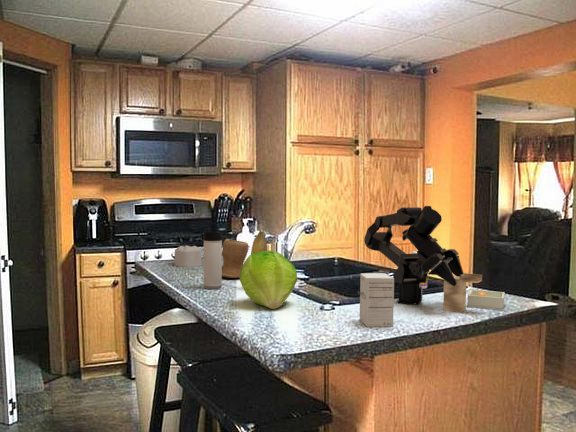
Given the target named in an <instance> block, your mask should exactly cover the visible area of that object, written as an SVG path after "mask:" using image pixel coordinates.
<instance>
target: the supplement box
mask: <svg viewBox="0 0 576 432" xmlns="http://www.w3.org/2000/svg"><path fill="white" fill-rule="evenodd" d="M359 282H360V283H359V321H361V322H362V323H363V324H364V325H365V327H367V328H369V327H371V328H375V327H376V328H377V327H380V328H382V327H394V309H395V308H394V307H395V306H394V305H395V281H394V276H391V275H389V274H387V273H385V272H382V273H380V272H375V273H372V272H371V273H368V272H367V273H365V272H364V273H360V281H359Z"/></svg>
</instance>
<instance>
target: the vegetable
mask: <svg viewBox="0 0 576 432" xmlns="http://www.w3.org/2000/svg"><path fill="white" fill-rule="evenodd" d="M251 245H252V246H251V250H250V251H251V252H250V255H251V254H253V253H258V252H263V251H268V241H267V238H266V233H265V232H264V231H259V232H258V233H257V234H256V236H255V237H254V239H253V242H252V244H251Z"/></svg>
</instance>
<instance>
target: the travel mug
mask: <svg viewBox="0 0 576 432" xmlns="http://www.w3.org/2000/svg"><path fill="white" fill-rule="evenodd" d="M222 235H223V233H222V232H215V231H214V232H212V231H204V232H203V289H205V290H219V289H222V288H223V287H222V286H223V285H222V284H223V283H222V282H223V279H222V278H223V277H222V266H223V263H222V262H223V254H222V249H223V239H222V238H223V237H222Z"/></svg>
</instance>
